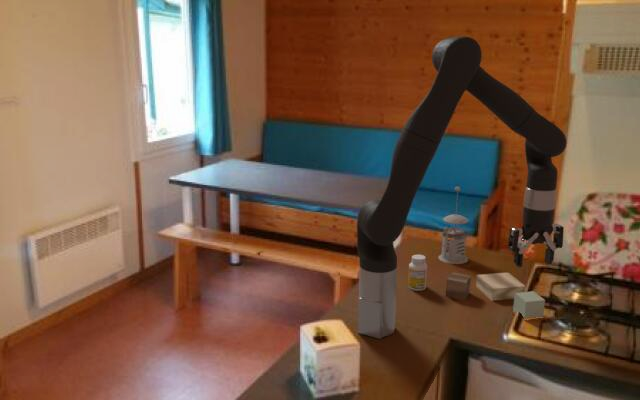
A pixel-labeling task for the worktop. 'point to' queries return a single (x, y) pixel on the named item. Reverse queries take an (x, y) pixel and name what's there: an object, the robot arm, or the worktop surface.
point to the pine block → (499, 286)
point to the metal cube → (458, 286)
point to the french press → (458, 243)
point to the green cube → (529, 304)
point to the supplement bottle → (417, 273)
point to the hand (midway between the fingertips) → (533, 264)
